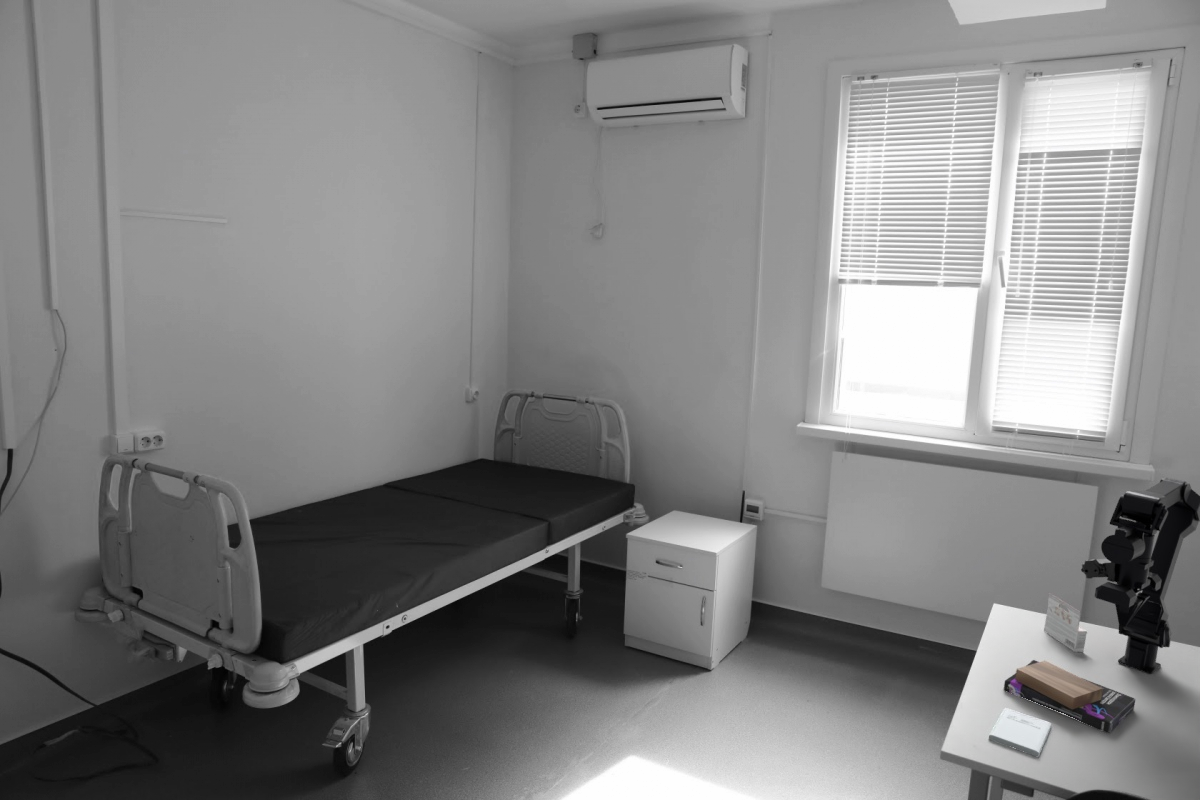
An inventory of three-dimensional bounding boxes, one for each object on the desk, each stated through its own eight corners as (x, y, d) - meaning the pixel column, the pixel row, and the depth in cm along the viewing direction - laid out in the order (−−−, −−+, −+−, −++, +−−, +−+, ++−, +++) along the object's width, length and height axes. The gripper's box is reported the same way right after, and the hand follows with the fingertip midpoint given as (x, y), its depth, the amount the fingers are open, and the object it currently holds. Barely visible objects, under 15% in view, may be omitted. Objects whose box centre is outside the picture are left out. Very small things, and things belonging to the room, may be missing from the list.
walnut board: (1044, 660, 169) (1016, 668, 165) (1102, 688, 159) (1074, 697, 155) (1043, 671, 170) (1015, 679, 166) (1100, 699, 159) (1072, 709, 155)
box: (1002, 695, 167) (1109, 738, 152) (1004, 679, 166) (1111, 720, 151) (1031, 674, 176) (1135, 713, 161) (1033, 659, 175) (1137, 696, 160)
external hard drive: (987, 742, 149) (1003, 714, 158) (1038, 760, 144) (1050, 730, 153) (989, 733, 148) (1004, 706, 158) (1039, 751, 143) (1052, 722, 153)
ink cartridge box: (1052, 630, 196) (1058, 592, 194) (1084, 652, 185) (1090, 612, 183) (1042, 630, 196) (1048, 592, 194) (1074, 652, 185) (1080, 612, 183)
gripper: (1108, 534, 178) (1097, 602, 181) (1072, 550, 166) (1061, 622, 169) (1167, 549, 169) (1155, 620, 172) (1134, 567, 158) (1122, 643, 160)
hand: (1122, 626), depth 169 cm, fingers closed
